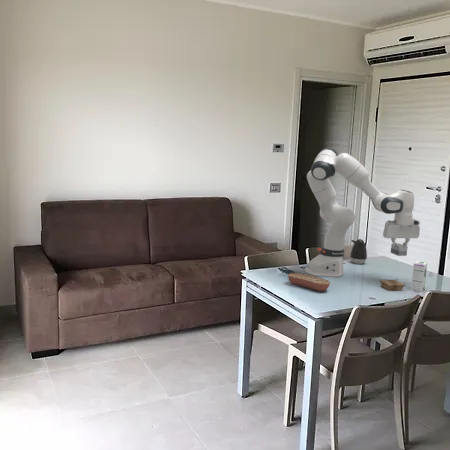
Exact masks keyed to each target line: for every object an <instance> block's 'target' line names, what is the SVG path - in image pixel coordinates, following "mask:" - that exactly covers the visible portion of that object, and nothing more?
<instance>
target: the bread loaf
mask: <svg viewBox="0 0 450 450" xmlns="http://www.w3.org/2000/svg"><path fill="white" fill-rule="evenodd" d="M287 278H288V281H289V282H290V283H291V284H293V285H295V286H300V287H304V288H307V289H311V290H314V291H318V292H324V291H326V290H328V288H329V287H330V284H331V282H330V281H329V280H327V279H324V278H321V277H319V276H312V275H310V274H305V273H300V272H299V273H298V272H291V273H288V275H287Z"/></svg>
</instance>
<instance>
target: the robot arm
mask: <svg viewBox="0 0 450 450" xmlns="http://www.w3.org/2000/svg"><path fill="white" fill-rule="evenodd" d="M336 173H337V174H339V175H340V176H341V177H342V178H343V179H344V180H345V181H347V182H348V183H349V184H350V185H352V186H355V187H356V188H358V189H360V190H361V191H362V192H363V193H364V194H365V195H366V196H367V197H368V198H369V199H370V201H371V202H372V205H373V207H374V209H375V210H377V211H378V212H381V213H384V214H387V215H390V214H392V215H393V214H394V218H393V220H387V221H385V223H384V228H383V232H382V236H383V237H384V238H386V239H390V240H391V242H392V243H391V245H392V246H397V242H396V240H397V239H405V240H404V242H402V245H405V246H407V247H408V243H409V242H410V241H411V239H418V238H419V237H420V231H421V228H420V224H421V221H420V220H417V219H415V218H413V210H414V209H415V208H414V206H415V195H414V193H413V192H412V191H410V190H406V189H399V190H398V191H395V192H394V193H391V194H388V193H386V192H382V191H380V189H379V188H377V187H376V186H375V185H374V184H373V183H372V182H371V181H370V178H369V176H370V174H369V171H368V170H367V169H366V167H365V166H364V165H363V164H362V163H361V162H359V161H358V160H357V159H356V158H355V157H354V156H351V154H349V153H347V152H342V153H339V154H338V152H337V150H336V149H335V148H332V147H329V146H328V147H324V148H323V149H321V150H320V151H319V153H318V154H317V156H316V157H315V158H314V161H313V163H312V165H311V168H310V170H309V171H308V172H307V173H306V179H307V182H308V185H309V187H310V189H311V192H312V194H313V195H314V197H315V199H316V201H317V203H318V206H319V216H320V217H321V219H323V220H324V221H325V222H327V223H330V227H329V229H328V230H327V232H326V233H325V235H324V242H323V243H324V244H323V247H322V248H321V247H318V248H317V250H316V251H317V252H320V253H319V254H318V255H316V256H314V257H313V258H312V259H311V260H310V261H309V264H308V267H305V268H304V270H303V271H304V272H305V273H306V274H307V275H310V276H314V277H328V278H329V277H331V278H333V277H334V278H340V277H342V276H343V275H345V270H344V257H345V249H344V248H345V242H346V241H345V239H346V235H347V233H348V230H349V228H350V227H351V226H353V224H354V223H355V221H356V216H355V212H354V211H353V210H352V209H350V208H349V207H347V206H344V205H340V204H339V203H338V201H337V196H338V195H337V191H336V190H335V189H336V188H335V187H334V186H333V184H332V182H331V180H330V178H331V177H333V176H335V175H336Z"/></svg>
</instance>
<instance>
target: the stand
mask: <svg viewBox="0 0 450 450" xmlns="http://www.w3.org/2000/svg"><path fill="white" fill-rule="evenodd" d="M379 282H380V283H381V287H382V288H384V289H386V290H388V291H390V292H391V291H393V292H394V291H403V289H404V288H403V287H405V286H406V285H405V284H404V283H402V282H400V281H398V280H396V279H386V280H385V279H381V280H379Z"/></svg>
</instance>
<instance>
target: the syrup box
mask: <svg viewBox="0 0 450 450" xmlns="http://www.w3.org/2000/svg"><path fill="white" fill-rule="evenodd" d="M427 268H428V262H426V261H418V260H416V261H415V262H413V268H412V278H411V285H410V287H411V288H410V289H411V290H412V291H417V292H423V291H424V290H425V288H426V287H425V286H426V277H427V270H428V269H427Z"/></svg>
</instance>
